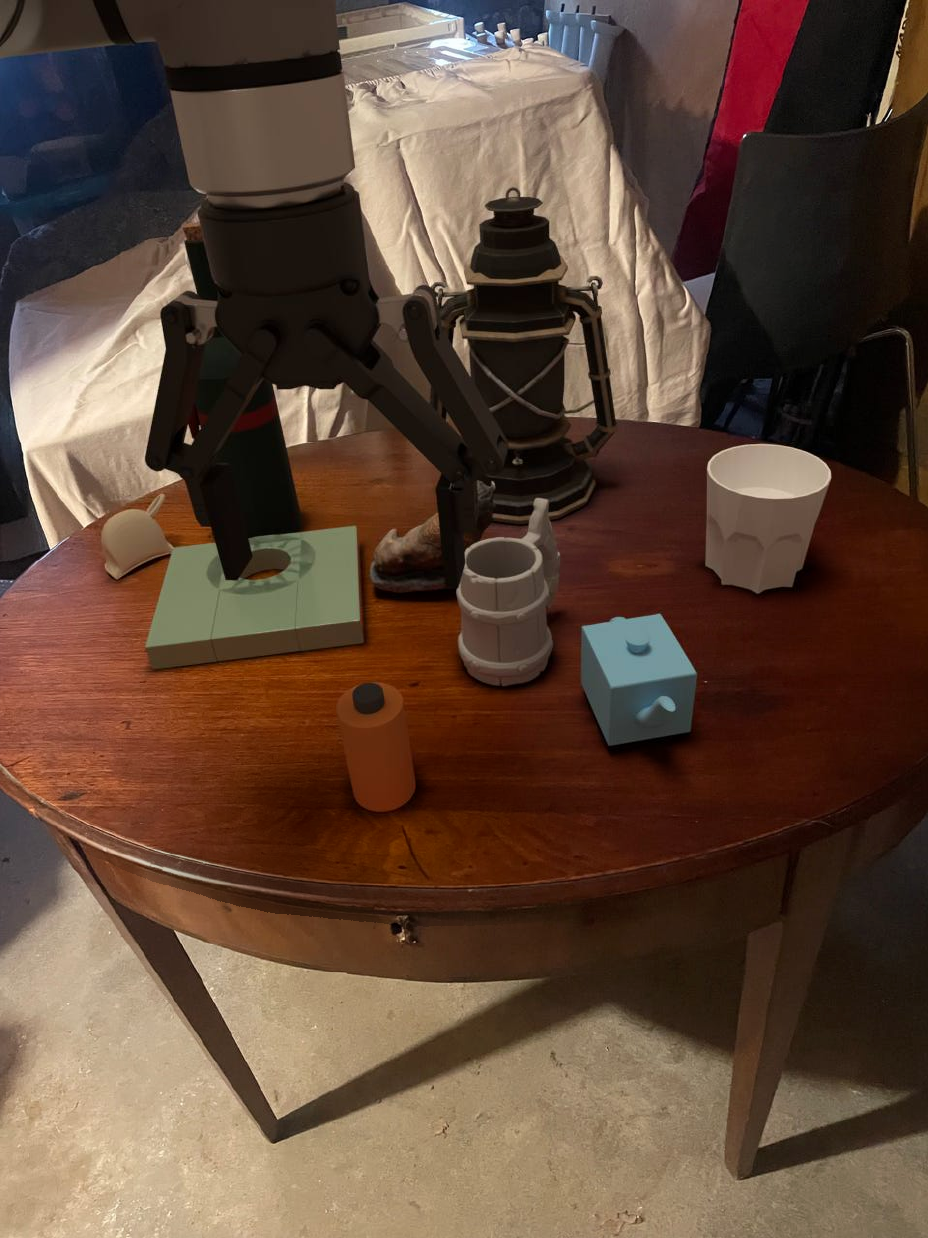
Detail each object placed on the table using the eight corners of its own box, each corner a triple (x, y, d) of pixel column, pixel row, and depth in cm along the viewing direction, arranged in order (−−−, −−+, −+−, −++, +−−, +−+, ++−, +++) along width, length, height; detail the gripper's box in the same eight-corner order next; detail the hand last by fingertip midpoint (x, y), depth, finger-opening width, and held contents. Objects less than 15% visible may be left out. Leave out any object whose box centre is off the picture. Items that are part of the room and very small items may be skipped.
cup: (833, 586, 77) (855, 486, 71) (727, 607, 76) (741, 507, 70) (775, 531, 85) (791, 436, 79) (679, 549, 84) (688, 454, 78)
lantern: (422, 527, 90) (387, 214, 72) (439, 457, 103) (413, 176, 85) (619, 524, 88) (633, 201, 70) (612, 453, 101) (623, 164, 83)
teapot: (707, 774, 61) (719, 693, 56) (622, 789, 60) (627, 708, 56) (648, 667, 70) (654, 589, 66) (575, 679, 70) (576, 602, 65)
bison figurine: (369, 607, 79) (353, 510, 73) (375, 565, 85) (361, 472, 79) (501, 599, 79) (496, 501, 73) (498, 557, 85) (493, 463, 79)
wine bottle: (209, 517, 95) (126, 221, 77) (303, 505, 96) (242, 209, 78) (201, 555, 89) (110, 243, 71) (302, 542, 90) (236, 229, 72)
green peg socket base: (152, 670, 74) (144, 647, 73) (179, 567, 87) (173, 546, 86) (364, 643, 75) (359, 620, 74) (359, 546, 88) (356, 524, 87)
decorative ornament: (97, 566, 89) (79, 520, 85) (171, 533, 93) (157, 488, 90) (114, 581, 86) (97, 534, 83) (190, 546, 90) (176, 501, 87)
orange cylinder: (353, 816, 60) (333, 720, 54) (352, 769, 63) (333, 675, 58) (417, 807, 60) (403, 710, 55) (413, 761, 64) (399, 666, 58)
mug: (440, 669, 72) (427, 544, 65) (518, 597, 79) (514, 478, 72) (519, 701, 68) (514, 573, 61) (593, 622, 75) (596, 499, 68)
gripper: (553, 160, 41) (556, 544, 54) (72, 183, 45) (179, 534, 58) (539, 195, 35) (546, 617, 48) (-13, 217, 40) (127, 600, 52)
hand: (345, 572), depth 53 cm, fingers open, 13 cm apart
